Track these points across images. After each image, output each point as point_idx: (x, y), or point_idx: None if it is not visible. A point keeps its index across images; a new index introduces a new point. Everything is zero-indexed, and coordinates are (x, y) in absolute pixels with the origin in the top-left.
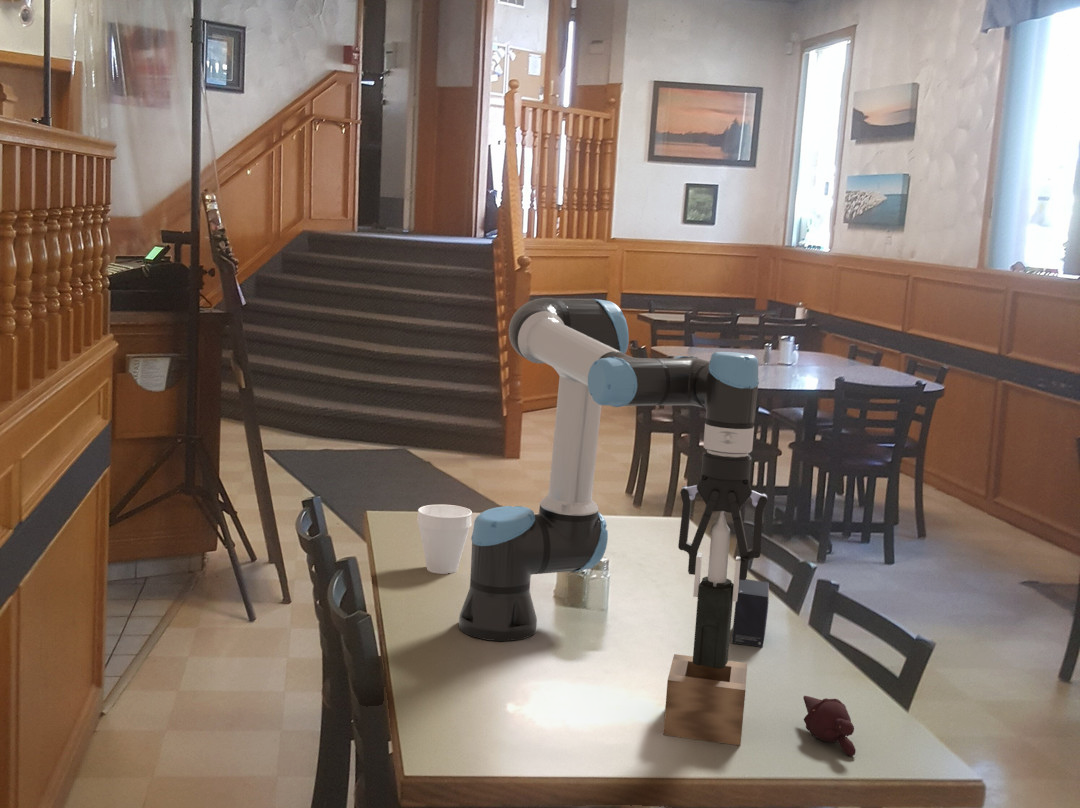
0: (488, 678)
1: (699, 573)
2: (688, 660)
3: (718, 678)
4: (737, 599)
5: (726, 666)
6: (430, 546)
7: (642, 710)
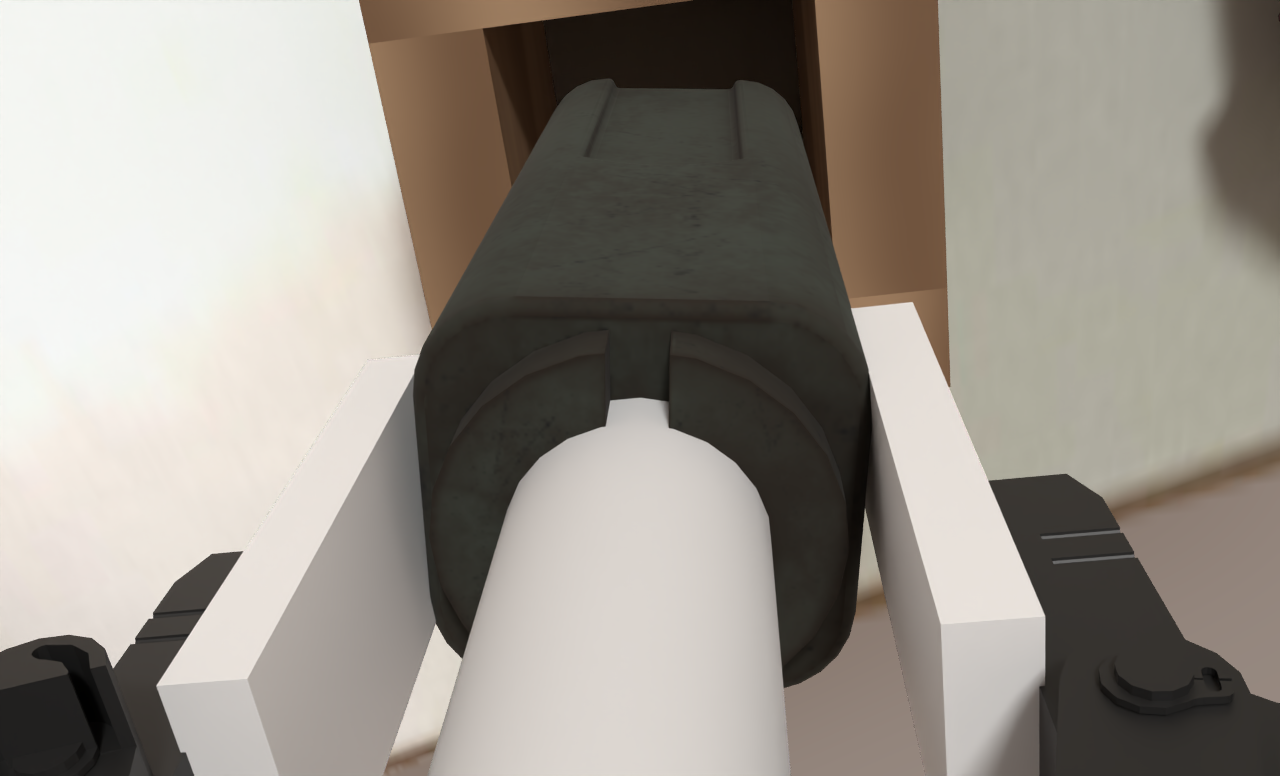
0: None
1: (393, 722)
2: (481, 13)
3: None
4: None
5: None
6: None
7: (313, 44)
